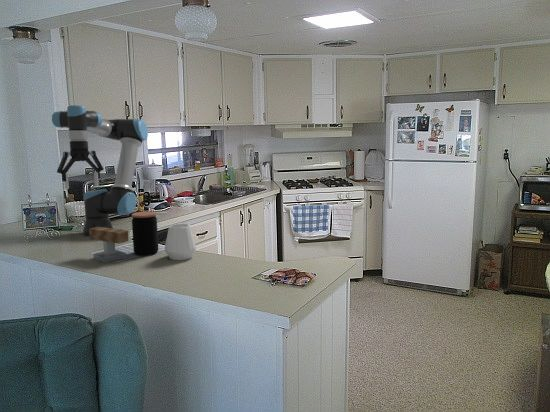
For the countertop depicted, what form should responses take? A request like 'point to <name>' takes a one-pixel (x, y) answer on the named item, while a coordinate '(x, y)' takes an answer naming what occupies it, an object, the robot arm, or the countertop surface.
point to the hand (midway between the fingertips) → (82, 187)
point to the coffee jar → (145, 233)
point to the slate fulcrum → (109, 253)
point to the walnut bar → (108, 234)
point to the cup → (180, 242)
